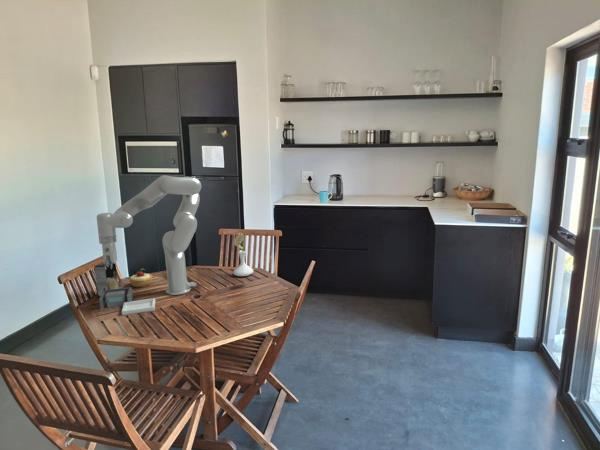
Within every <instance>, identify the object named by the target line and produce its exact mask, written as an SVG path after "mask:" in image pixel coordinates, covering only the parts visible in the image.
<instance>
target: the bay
mask: <svg viewBox="0 0 600 450" xmlns="http://www.w3.org/2000/svg"><path fill="white" fill-rule="evenodd" d="M123 290H125V297H126V302H130V301H133V297H134V293H133V286H132V287H131V286H130V287H129V286H128V287H127V286H126V287H121V288H120V287H119V289H111V290H106V291H103V292H102V294H101V296H99V299H98V301H99V308H100V309H99V310H101V309H103V310H104V308H105V307H106V305H107V302H106V294H107V292H115V291H123Z"/></svg>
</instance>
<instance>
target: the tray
mask: <svg viewBox="0 0 600 450" xmlns="http://www.w3.org/2000/svg"><path fill="white" fill-rule="evenodd" d="M155 310H156V298H155V297H154V298H147V299H140V300H139V299H138V300H132V301H130V302H128V301H126V302H124V305H123V306H122V309H121V316H122V317H123V316H127V315H128V316H129V315H136V314H143V313H149V312H151V313H152V312H155Z"/></svg>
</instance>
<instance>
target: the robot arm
mask: <svg viewBox="0 0 600 450" xmlns="http://www.w3.org/2000/svg"><path fill="white" fill-rule="evenodd" d="M201 189H202V182H201V181H200V179H198V178H196V177H193V176H183V177H182V176H181V177H180V176H171V175H165V174H163V175H161V176H159V177H157V178H156V179H155V180H153V182H151V183H150V184H149V185H148V186H146V187H145V188H144V189H143V190H141V192H140V193H137V194H136V195H134V196H133V197H132V198H131V199H128V201H126V202H125V203H123V205H121V206H120V207H118V208H117V209H115V211H114V213H112V212H100V213H98V214H97V215H96V224H97V232H98V233H97V235H98V243H99V244H100V245H101V248H102V249H101V250H102V258H103V262H104V264H105V265H106V269H105V270H106V278H111V277H114V274H113V272H116V271H117V266H116V265H117V261H118V256H117V247H116V243H117V242H118V241H117V232H116V228H117V229H123V228H124V229H126V228H129V227H130V226H132V224H133V222H134V218H133V217H134V216H136V215H137V214H138V213H140V212H141V211H143V210H146V209H149V208H152V207H154V206H155V205H156V204H158V202H160V201H161V199H163V198H164V197H165V196H167V195H169V194H170V195H182V201H181V202H180V206H179V207H178V209H177V211H176V213H175V216H174V217H173V221H172V223H173V226H174V227H175V229H174V230H170V231H167V232H166V233H164V235H163V237H162V241H161V242H162V248H163V251H164V258H165V260H164V261H165V267H166V268H165V270H166V277H167V278H166V279H167V286H168V287H167V288H166V289H165V293H166V295H168V296H179V295H184V294H187V293H189V292H191V289H192V288H191V287H197V282H194V281H189V280H188V278H187V269H186V268H187V267H186V257H185V251H186V250H187V249H188V247H189V246H190V243H191V241H192V239H193V237H194V234H195V233H196V231H197V227H198V220H197V218H196V217H195V215H196V213H197V211H198V208H199V205H200V201H201V200H200V199H201V197H200V191H201Z"/></svg>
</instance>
